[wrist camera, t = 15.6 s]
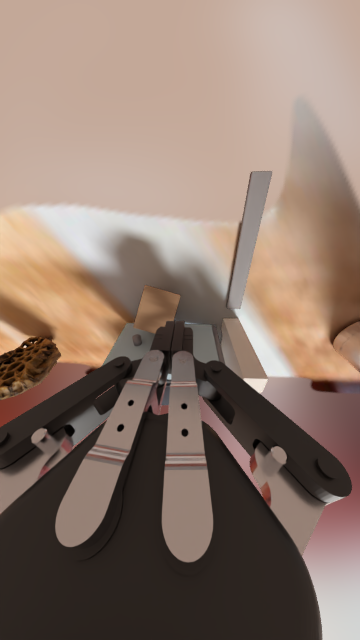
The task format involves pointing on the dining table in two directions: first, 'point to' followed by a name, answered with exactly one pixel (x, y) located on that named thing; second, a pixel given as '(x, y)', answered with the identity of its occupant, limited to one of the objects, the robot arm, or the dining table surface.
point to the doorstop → (155, 309)
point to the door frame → (234, 337)
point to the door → (139, 341)
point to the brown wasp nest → (26, 366)
